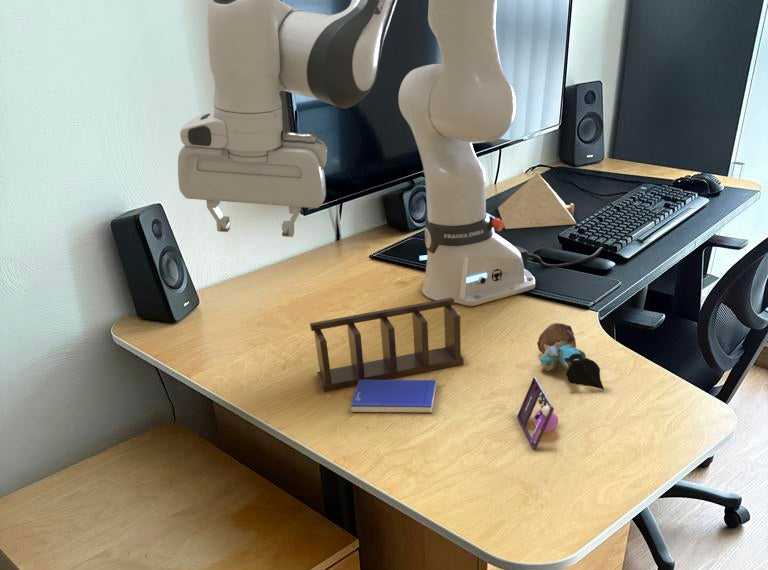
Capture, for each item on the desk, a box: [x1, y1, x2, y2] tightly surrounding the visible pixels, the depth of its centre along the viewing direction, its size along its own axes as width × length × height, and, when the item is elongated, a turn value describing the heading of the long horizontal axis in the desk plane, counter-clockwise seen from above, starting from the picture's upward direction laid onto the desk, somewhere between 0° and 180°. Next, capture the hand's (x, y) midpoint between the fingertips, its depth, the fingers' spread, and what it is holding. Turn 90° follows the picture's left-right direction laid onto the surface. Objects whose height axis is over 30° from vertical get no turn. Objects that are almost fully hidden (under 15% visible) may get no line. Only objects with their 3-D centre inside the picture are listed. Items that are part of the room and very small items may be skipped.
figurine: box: [536, 322, 605, 391], centre depth 121 cm, size 8×16×6 cm, turn 10°
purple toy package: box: [516, 377, 559, 450], centre depth 108 cm, size 7×5×9 cm
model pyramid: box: [497, 172, 577, 230], centre depth 183 cm, size 17×17×10 cm
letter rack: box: [309, 298, 465, 393], centre depth 125 cm, size 24×5×10 cm, turn 105°
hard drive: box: [350, 379, 437, 413], centre depth 120 cm, size 2×8×12 cm
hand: (256, 233), depth 111 cm, fingers open, 8 cm apart
